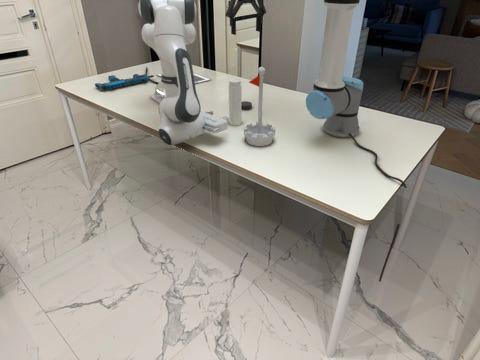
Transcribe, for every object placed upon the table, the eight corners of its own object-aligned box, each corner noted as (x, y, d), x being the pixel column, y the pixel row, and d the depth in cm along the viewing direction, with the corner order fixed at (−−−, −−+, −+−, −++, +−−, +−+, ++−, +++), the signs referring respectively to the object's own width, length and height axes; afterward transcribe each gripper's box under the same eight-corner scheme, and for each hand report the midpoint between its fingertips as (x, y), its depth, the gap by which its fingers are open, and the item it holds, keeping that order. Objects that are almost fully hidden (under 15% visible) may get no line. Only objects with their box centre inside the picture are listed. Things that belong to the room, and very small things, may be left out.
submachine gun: (139, 68, 225) (158, 74, 208) (140, 74, 226) (158, 80, 210) (87, 78, 206) (103, 86, 189) (89, 84, 208) (104, 92, 191)
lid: (241, 111, 170) (241, 106, 168) (236, 106, 175) (236, 102, 173) (254, 109, 172) (254, 104, 170) (248, 104, 177) (248, 100, 176)
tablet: (156, 75, 222) (156, 74, 221) (183, 69, 233) (183, 69, 233) (183, 86, 201) (183, 86, 201) (210, 80, 212) (210, 79, 212)
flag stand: (266, 131, 149) (269, 61, 133) (280, 143, 139) (285, 69, 122) (239, 136, 145) (238, 64, 129) (250, 149, 135) (252, 73, 118)
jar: (233, 119, 160) (232, 77, 149) (243, 122, 158) (243, 79, 147) (227, 124, 156) (226, 81, 145) (237, 126, 154) (237, 83, 143)
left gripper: (212, 124, 131) (237, 114, 139) (179, 111, 143) (203, 102, 151) (213, 139, 134) (237, 128, 143) (180, 125, 146) (204, 116, 155)
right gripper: (264, -23, 150) (263, 28, 162) (216, -22, 139) (218, 34, 150) (275, -23, 145) (272, 31, 157) (226, -21, 134) (227, 37, 145)
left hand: (219, 115), depth 147 cm, fingers open, 8 cm apart
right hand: (246, 32), depth 154 cm, fingers open, 13 cm apart
